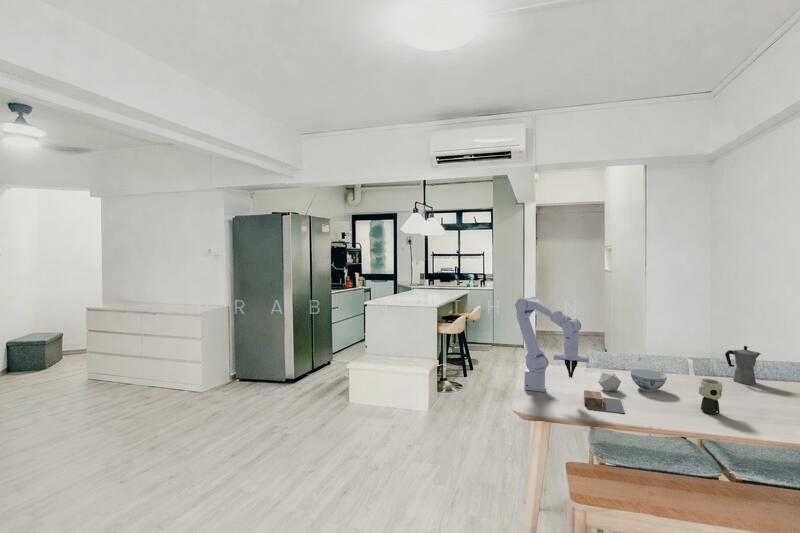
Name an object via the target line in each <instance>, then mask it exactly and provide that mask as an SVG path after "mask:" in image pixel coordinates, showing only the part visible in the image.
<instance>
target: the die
mask: <svg viewBox="0 0 800 533" xmlns="http://www.w3.org/2000/svg"><path fill="white" fill-rule="evenodd" d="M597 383H598V384H599V386H601V388H602V389H603V390H604V391H605V392H617V391H618V389H619V388H620V385H621V383H622V381H621V379H620V378H619V377H618V375H616V373H615V372H602V373H601V376H600V378H599V380H598V382H597Z"/></svg>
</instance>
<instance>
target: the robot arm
mask: <svg viewBox="0 0 800 533" xmlns="http://www.w3.org/2000/svg"><path fill="white" fill-rule="evenodd" d="M514 307H515V309H516V320H517V322H518V326H519V328H520V331H521V332H520V333H521V334H522V338H523V341H524V343H525V346H526V350H527V352H526V354H525V356H524V357H525V366H526V369H525V370H524V381H523V383H524V391H534V392H543V393H546V390H547V386H546V370H547V368H548V367H549V360H548V359H549V358H548V357H547V356H546V354H545V352H544V351H543V350H541V349H540V347H539V344H538V340H537V338H536V335H535V332H534V329H533V328H534V327H533V326H532V323H531V320H530V317H531V315H532V313H533V312H534V311H537V312H540V313H542V314H543V315H544V316H547V317H549V319H550V321H551V322H552V323H553V324H556V325H557V326H559V327H560V328H561V329H562V331H563V336H564V342H563V343H564V344H563V345H564V346H563V347H564V349H563V352H564V353H563V354H553V360H555V361H556V360H558V361H563V362H564V365H565V367H566V369H567V372H568V378H571V379H572V378H573V376H574V373H575V372H574V371H575V369H576V367H577V366H578V362H579V363H581V362H582V363H586V364H589V363H590V357H586V356H580V355H579V332H580V331H581V329H582V324H581V322H580V321H579V319H578V318H572V317H571V316H568V315H566V314H564V313H563V311H561V310H553V309H552V308H550V307H549V306H547V305H546V304H544V303H543V302H541V300H540V299H538V298H536V297H535V296H528V297H523V298H522V297H520V298H517V300H516V302H515V304H514Z"/></svg>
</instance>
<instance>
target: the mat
mask: <svg viewBox="0 0 800 533" xmlns="http://www.w3.org/2000/svg"><path fill="white" fill-rule="evenodd" d="M602 398H603V407H596V406H588V405H586V410H590V411H597V412H606V413H607V412H608V413H613V414H614V413H615V414H623V415H625V409H624V406H623V403H622V399H619V398H611V397H604V396H602Z"/></svg>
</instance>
